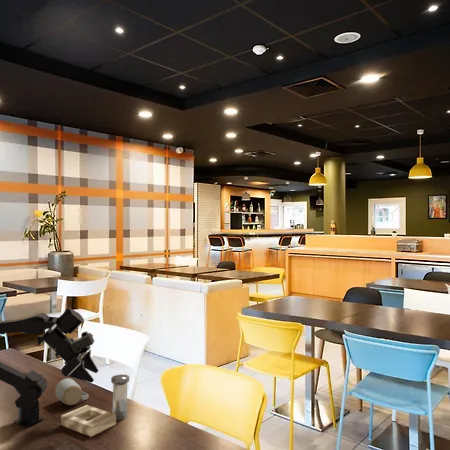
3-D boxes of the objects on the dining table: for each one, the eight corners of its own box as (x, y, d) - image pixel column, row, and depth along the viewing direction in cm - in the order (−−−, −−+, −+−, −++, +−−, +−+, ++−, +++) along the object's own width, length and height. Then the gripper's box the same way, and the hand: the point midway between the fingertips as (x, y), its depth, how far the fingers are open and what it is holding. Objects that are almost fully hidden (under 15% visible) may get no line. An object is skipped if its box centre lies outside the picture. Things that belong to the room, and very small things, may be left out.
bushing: (107, 417, 138) (107, 378, 139) (120, 411, 143) (120, 373, 144) (119, 422, 135) (120, 381, 136) (132, 415, 140) (132, 376, 141)
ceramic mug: (62, 409, 145) (63, 386, 146) (54, 401, 151) (55, 380, 152) (92, 401, 152) (92, 380, 153) (83, 395, 158) (83, 374, 159)
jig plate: (61, 425, 133) (61, 415, 133) (86, 413, 141) (86, 404, 141) (90, 436, 126) (91, 426, 126) (116, 424, 134) (116, 414, 134)
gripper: (72, 332, 129) (109, 367, 130) (84, 320, 148) (116, 350, 149) (45, 359, 128) (82, 394, 129) (60, 343, 146) (93, 374, 147)
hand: (95, 376), depth 139 cm, fingers open, 9 cm apart
